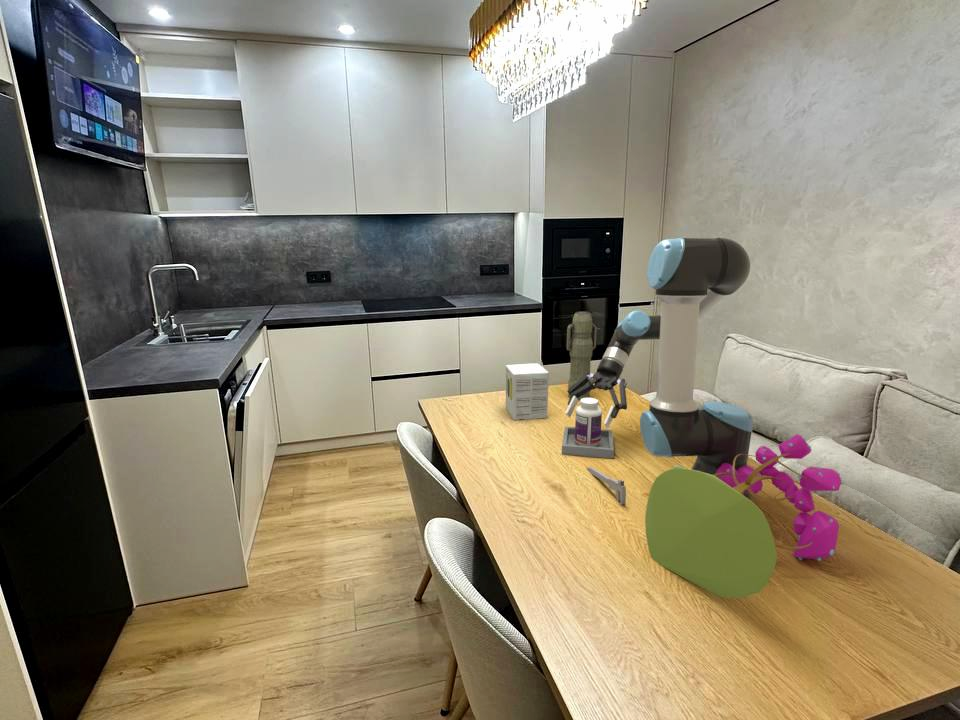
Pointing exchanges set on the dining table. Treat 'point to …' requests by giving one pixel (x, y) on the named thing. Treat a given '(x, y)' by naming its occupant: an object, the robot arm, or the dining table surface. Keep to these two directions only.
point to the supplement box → (527, 391)
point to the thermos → (580, 347)
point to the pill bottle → (588, 423)
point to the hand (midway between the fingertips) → (586, 420)
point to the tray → (601, 450)
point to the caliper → (611, 484)
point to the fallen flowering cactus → (736, 521)
